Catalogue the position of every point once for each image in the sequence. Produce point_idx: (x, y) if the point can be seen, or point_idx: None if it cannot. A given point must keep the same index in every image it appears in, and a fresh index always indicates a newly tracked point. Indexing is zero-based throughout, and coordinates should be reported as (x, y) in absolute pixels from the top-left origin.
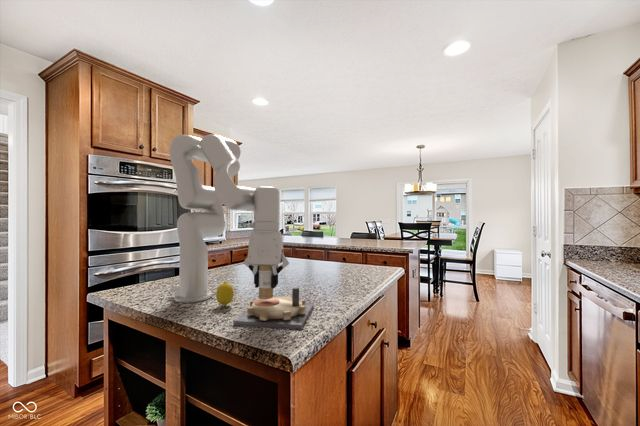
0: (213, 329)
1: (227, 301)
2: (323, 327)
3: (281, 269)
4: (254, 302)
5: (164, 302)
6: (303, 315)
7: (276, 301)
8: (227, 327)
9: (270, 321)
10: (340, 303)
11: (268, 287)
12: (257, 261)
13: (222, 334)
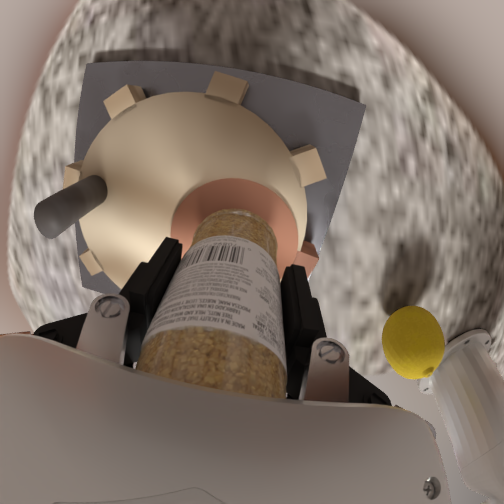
0: (416, 85)
1: (400, 311)
2: (42, 97)
3: (48, 324)
4: (296, 232)
5: (501, 329)
6: (83, 157)
7: (185, 241)
8: (376, 89)
9: (200, 79)
10: (40, 298)
11: (201, 241)
12: (314, 442)
13: (375, 32)
